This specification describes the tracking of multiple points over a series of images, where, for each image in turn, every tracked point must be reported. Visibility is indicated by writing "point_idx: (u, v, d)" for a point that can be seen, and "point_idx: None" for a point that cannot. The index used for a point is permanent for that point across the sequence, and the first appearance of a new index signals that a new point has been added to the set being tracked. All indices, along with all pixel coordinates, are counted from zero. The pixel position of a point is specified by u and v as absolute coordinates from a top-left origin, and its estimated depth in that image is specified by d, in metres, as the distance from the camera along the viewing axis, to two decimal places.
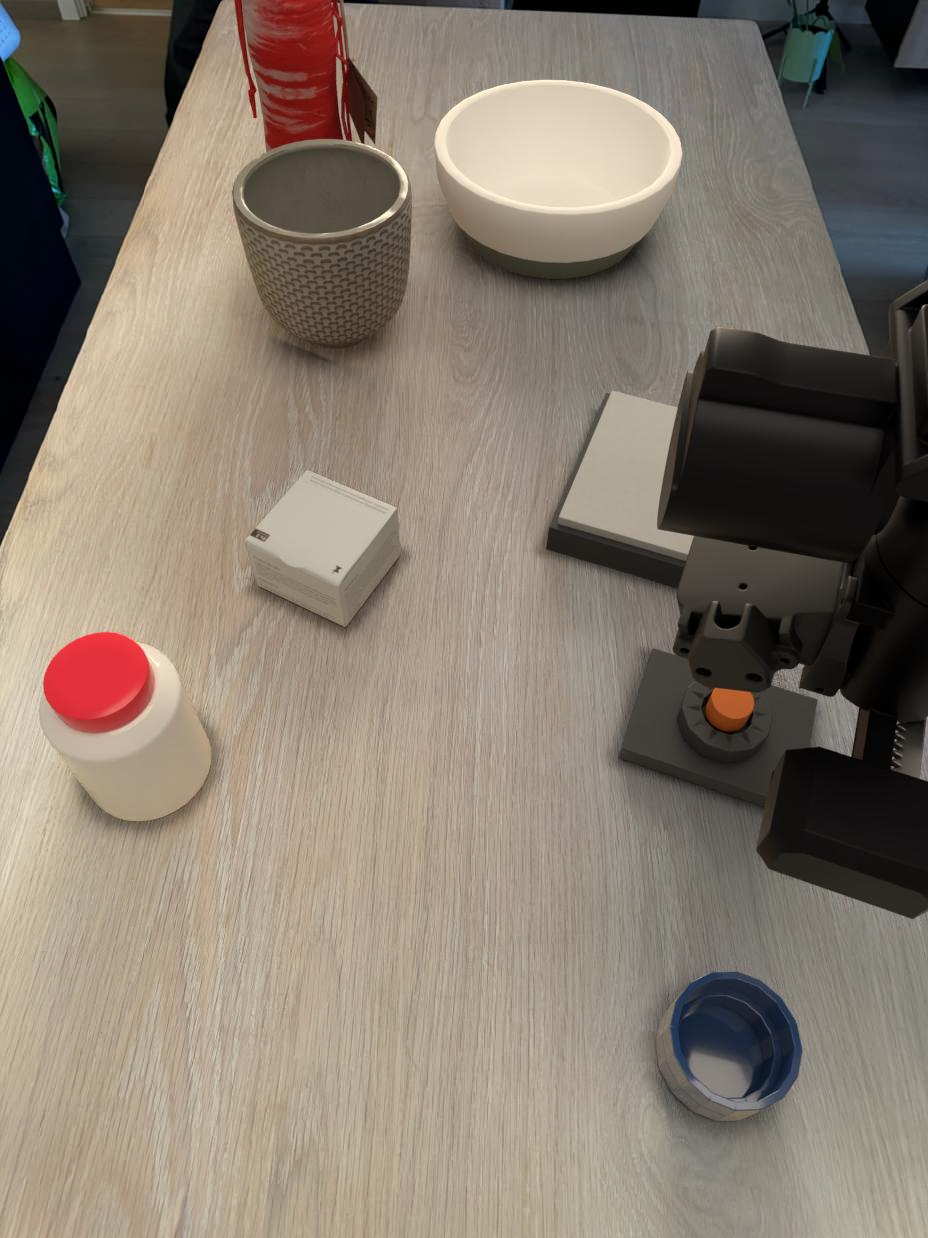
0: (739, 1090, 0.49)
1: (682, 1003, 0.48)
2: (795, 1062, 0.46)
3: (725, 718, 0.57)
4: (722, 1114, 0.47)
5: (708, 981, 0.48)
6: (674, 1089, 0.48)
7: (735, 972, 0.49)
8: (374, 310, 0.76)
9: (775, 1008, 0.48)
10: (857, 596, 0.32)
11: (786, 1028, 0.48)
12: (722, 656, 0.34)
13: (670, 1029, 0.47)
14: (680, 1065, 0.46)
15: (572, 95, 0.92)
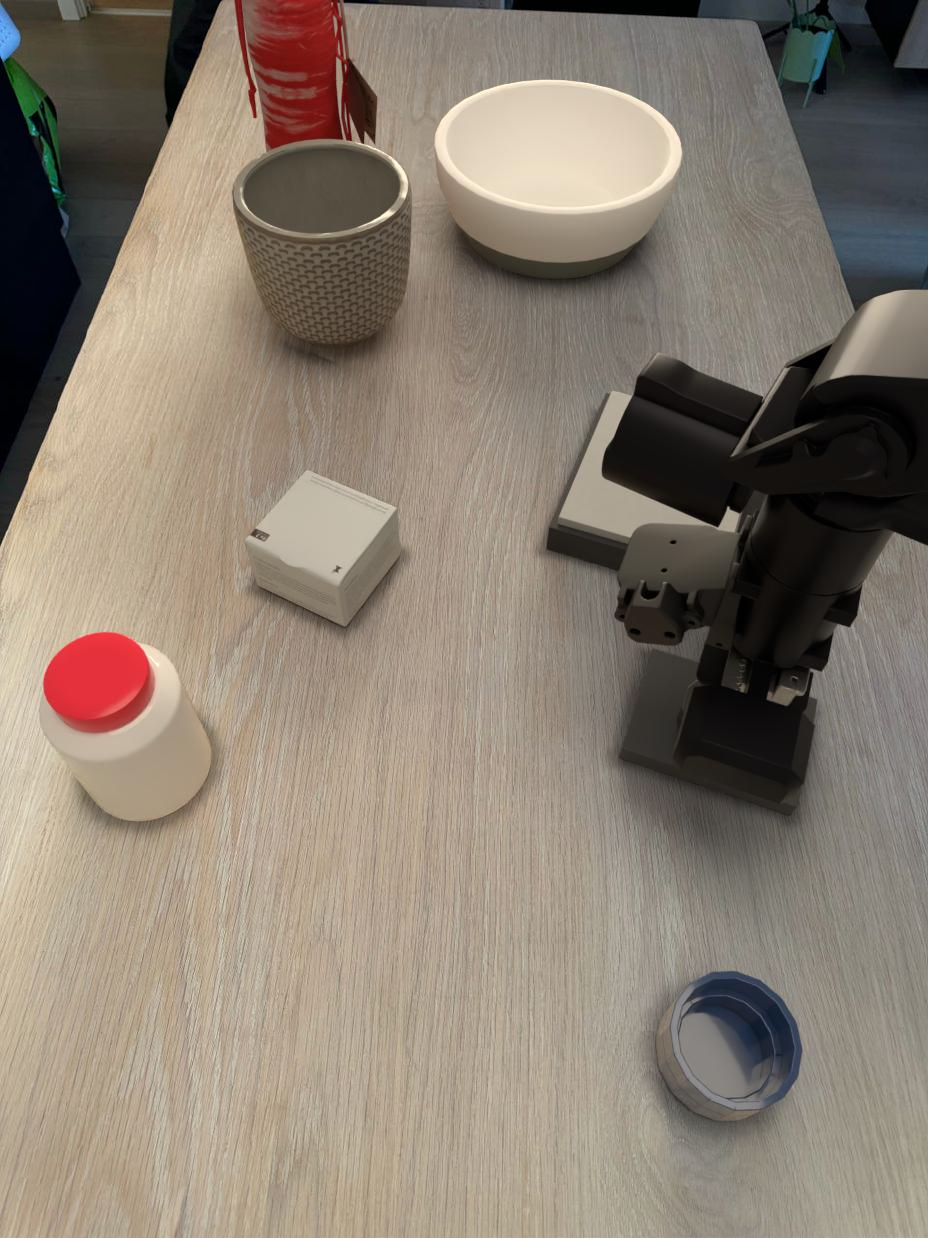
0: (739, 1090, 0.49)
1: (682, 1003, 0.48)
2: (795, 1062, 0.46)
3: None
4: (722, 1114, 0.47)
5: (708, 981, 0.48)
6: (674, 1089, 0.48)
7: (735, 972, 0.49)
8: (374, 310, 0.76)
9: (775, 1008, 0.48)
10: (737, 576, 0.46)
11: (786, 1028, 0.48)
12: (646, 619, 0.47)
13: (670, 1029, 0.47)
14: (680, 1065, 0.46)
15: (572, 95, 0.92)
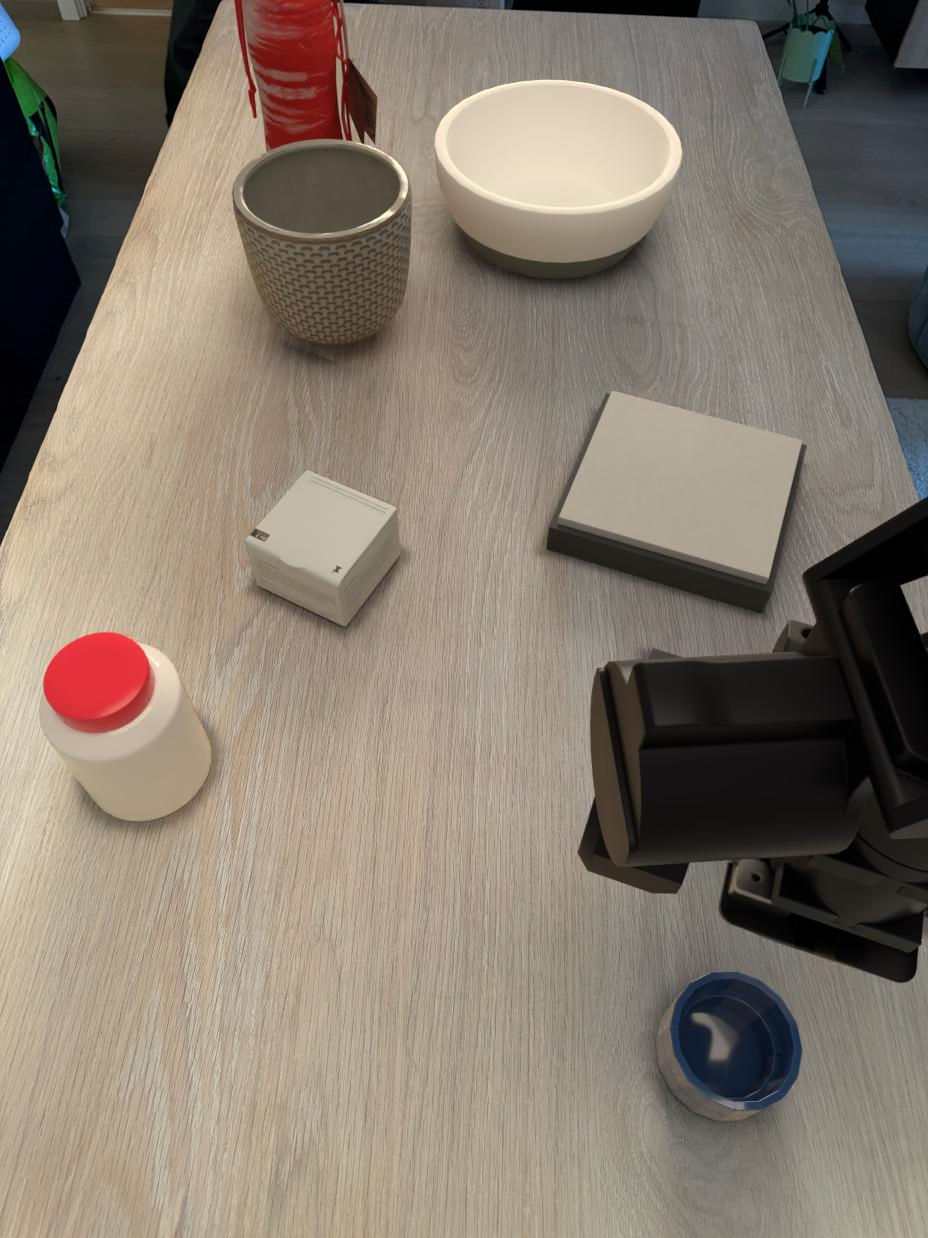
0: (739, 1090, 0.49)
1: (682, 1003, 0.48)
2: (795, 1062, 0.46)
3: None
4: (722, 1114, 0.47)
5: (708, 981, 0.48)
6: (674, 1089, 0.48)
7: (735, 972, 0.49)
8: (374, 310, 0.76)
9: (775, 1008, 0.48)
10: None
11: (786, 1028, 0.48)
12: (780, 646, 0.37)
13: (670, 1029, 0.47)
14: (680, 1065, 0.46)
15: (572, 95, 0.92)
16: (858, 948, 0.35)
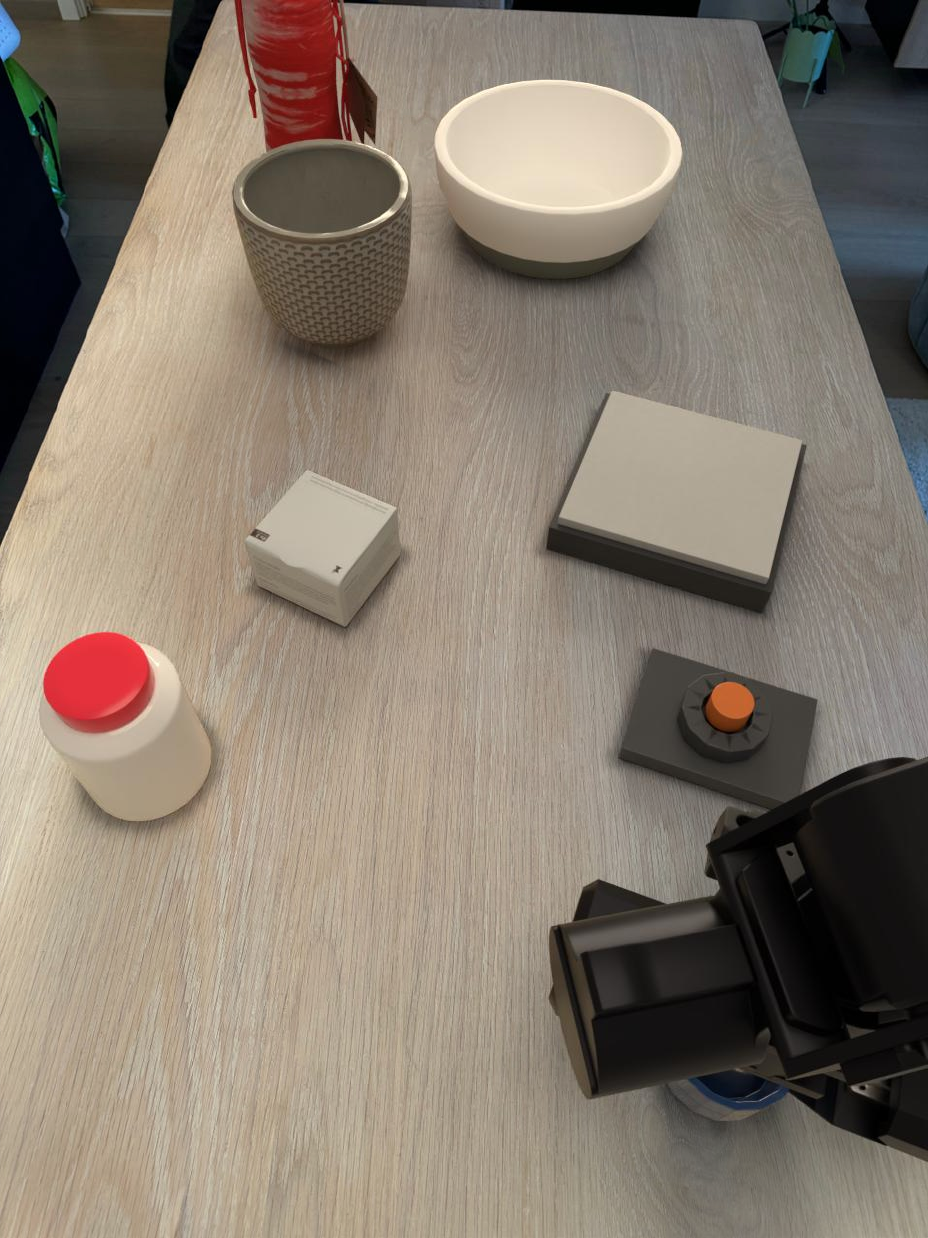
0: (739, 1090, 0.49)
1: None
2: None
3: (725, 718, 0.57)
4: (722, 1114, 0.47)
5: None
6: (674, 1089, 0.48)
7: None
8: (374, 310, 0.76)
9: None
10: None
11: None
12: (719, 828, 0.44)
13: None
14: None
15: (572, 95, 0.92)
16: (852, 1114, 0.42)
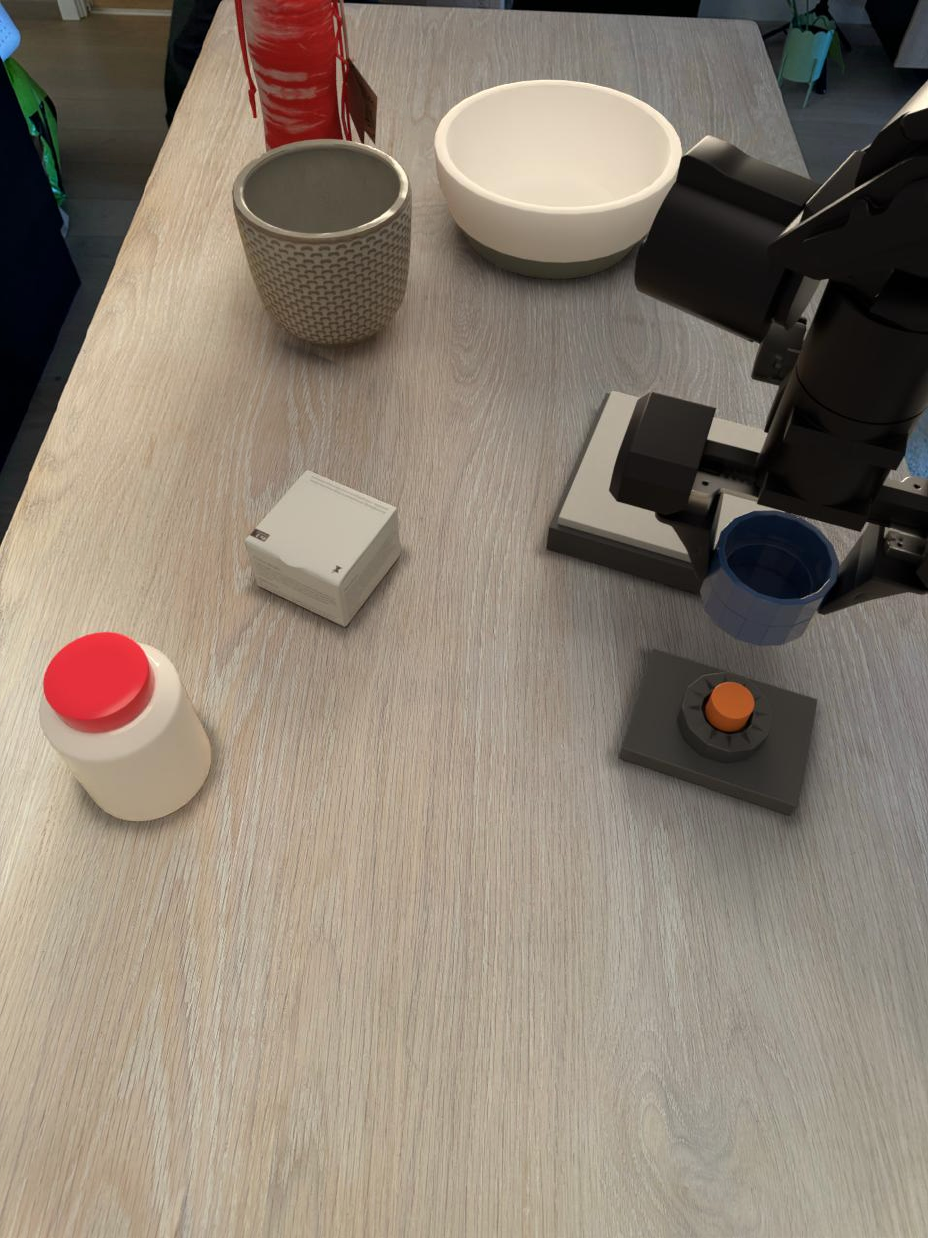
0: None
1: (727, 532, 0.51)
2: (833, 572, 0.50)
3: (725, 718, 0.57)
4: (766, 623, 0.50)
5: (750, 517, 0.52)
6: (719, 617, 0.52)
7: (775, 510, 0.52)
8: (374, 310, 0.76)
9: (812, 539, 0.52)
10: None
11: (823, 553, 0.51)
12: None
13: (717, 550, 0.51)
14: (727, 574, 0.50)
15: (572, 95, 0.92)
16: (890, 569, 0.46)
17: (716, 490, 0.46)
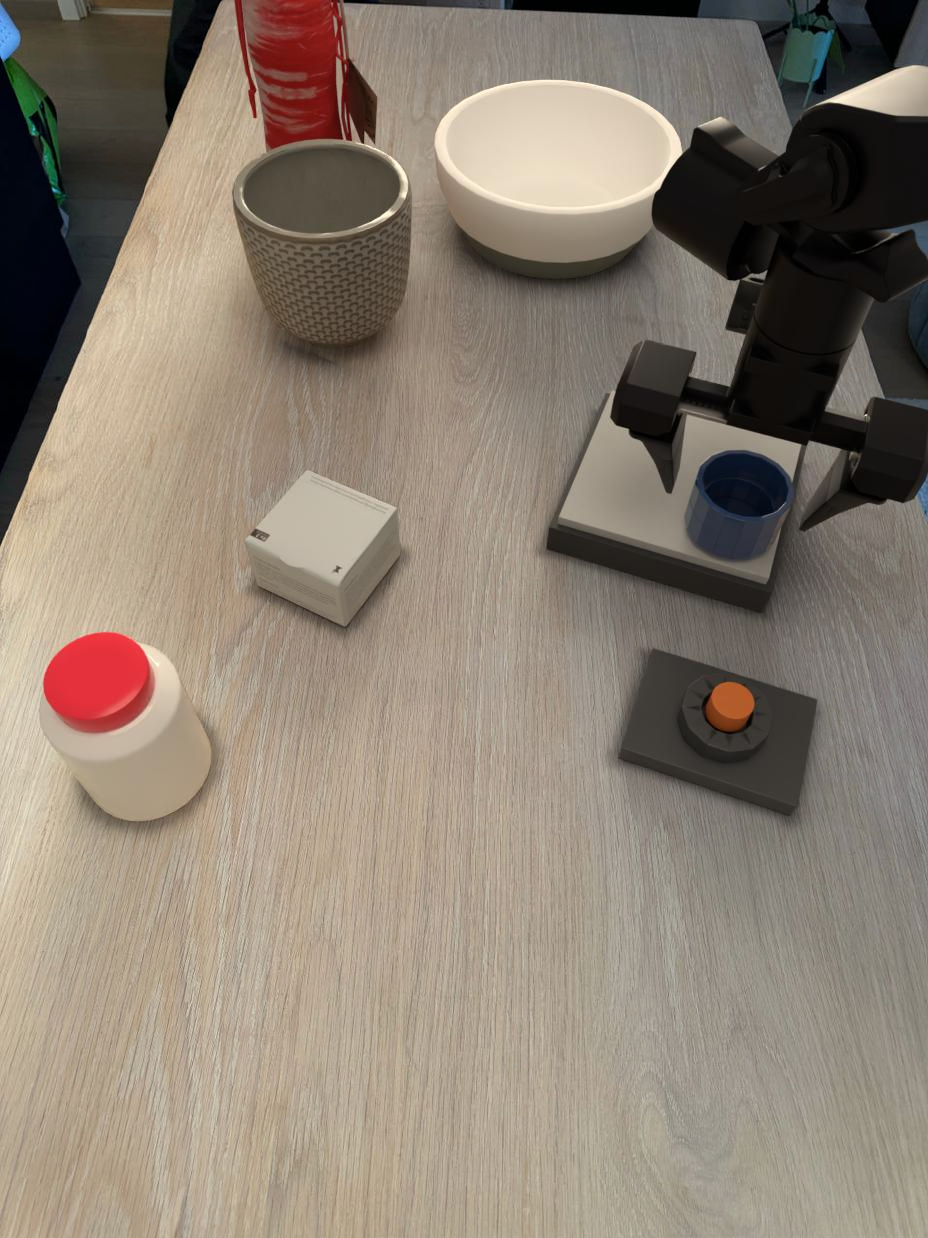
0: None
1: (705, 466, 0.64)
2: (789, 497, 0.63)
3: (725, 718, 0.57)
4: (735, 538, 0.63)
5: (724, 455, 0.65)
6: (699, 535, 0.65)
7: (744, 450, 0.65)
8: (374, 310, 0.76)
9: (774, 473, 0.64)
10: None
11: (782, 484, 0.64)
12: None
13: (696, 479, 0.63)
14: (704, 498, 0.62)
15: (572, 95, 0.92)
16: (854, 485, 0.57)
17: (676, 410, 0.58)
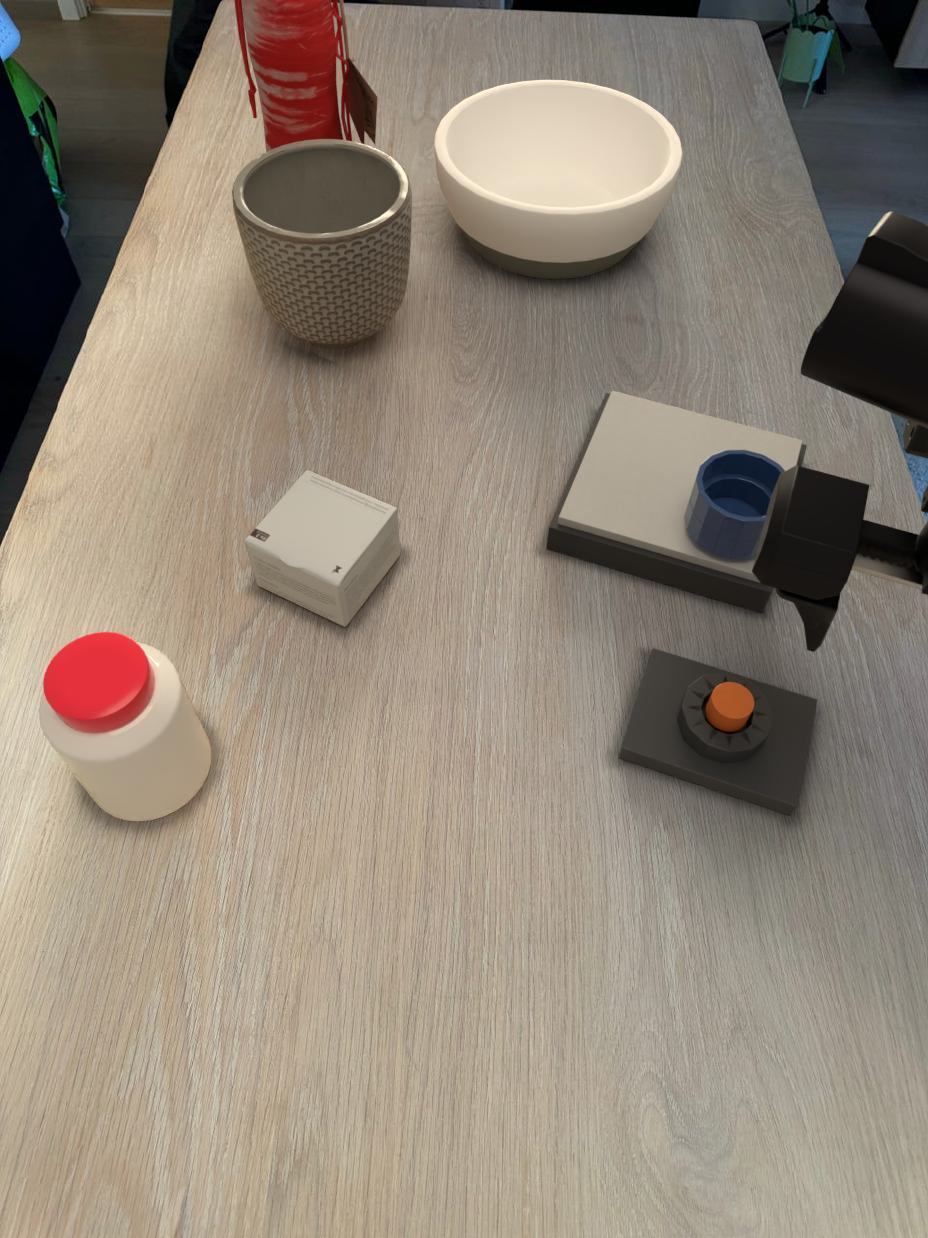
0: None
1: (705, 466, 0.64)
2: None
3: (725, 718, 0.57)
4: (735, 538, 0.63)
5: (724, 455, 0.65)
6: (699, 535, 0.65)
7: (744, 450, 0.65)
8: (374, 310, 0.76)
9: (774, 473, 0.64)
10: None
11: None
12: None
13: (696, 479, 0.63)
14: (704, 498, 0.62)
15: (572, 95, 0.92)
16: None
17: None
